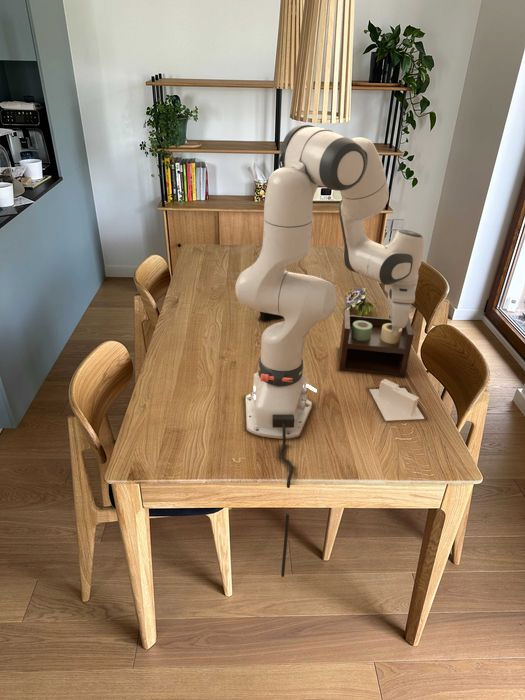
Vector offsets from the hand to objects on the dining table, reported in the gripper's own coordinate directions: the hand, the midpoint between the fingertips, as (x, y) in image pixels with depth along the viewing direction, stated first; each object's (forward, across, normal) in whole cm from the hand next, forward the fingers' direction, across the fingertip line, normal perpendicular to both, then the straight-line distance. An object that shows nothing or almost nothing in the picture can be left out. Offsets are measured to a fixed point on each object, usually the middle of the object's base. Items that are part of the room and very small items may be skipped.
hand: (392, 326), depth 153 cm
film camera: (+15, -30, -40) cm, 52 cm away
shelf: (+14, -1, -5) cm, 15 cm away
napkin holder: (+14, +20, +1) cm, 25 cm away
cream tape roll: (+4, 0, 0) cm, 4 cm away
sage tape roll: (+4, 0, -9) cm, 10 cm away
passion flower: (+15, -38, -8) cm, 42 cm away
